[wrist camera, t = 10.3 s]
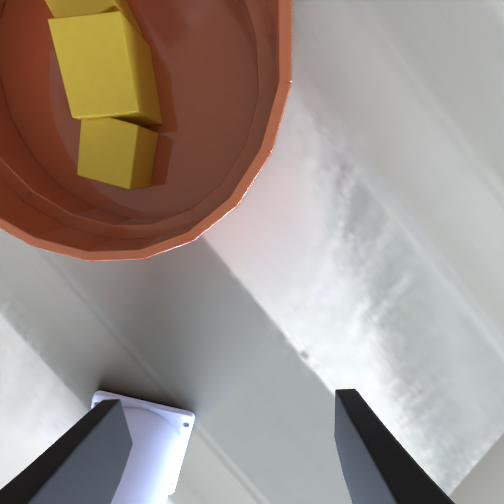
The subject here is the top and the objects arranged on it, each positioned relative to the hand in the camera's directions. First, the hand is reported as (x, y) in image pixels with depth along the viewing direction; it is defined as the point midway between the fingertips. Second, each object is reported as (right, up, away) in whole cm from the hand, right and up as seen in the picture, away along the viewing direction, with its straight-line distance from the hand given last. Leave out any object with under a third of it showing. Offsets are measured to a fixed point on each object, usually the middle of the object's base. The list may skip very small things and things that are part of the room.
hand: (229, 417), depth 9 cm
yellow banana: (-6, +14, +5) cm, 16 cm away
